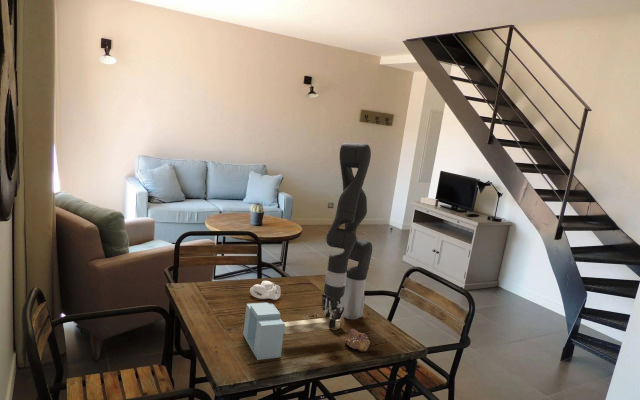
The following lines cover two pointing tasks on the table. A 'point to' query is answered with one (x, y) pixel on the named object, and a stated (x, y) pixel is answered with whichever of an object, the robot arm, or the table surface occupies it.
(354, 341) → the mineral specimen
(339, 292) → the robot arm
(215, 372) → the table surface
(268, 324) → the light blue notched block
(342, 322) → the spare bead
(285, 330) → the long cream stick
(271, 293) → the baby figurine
